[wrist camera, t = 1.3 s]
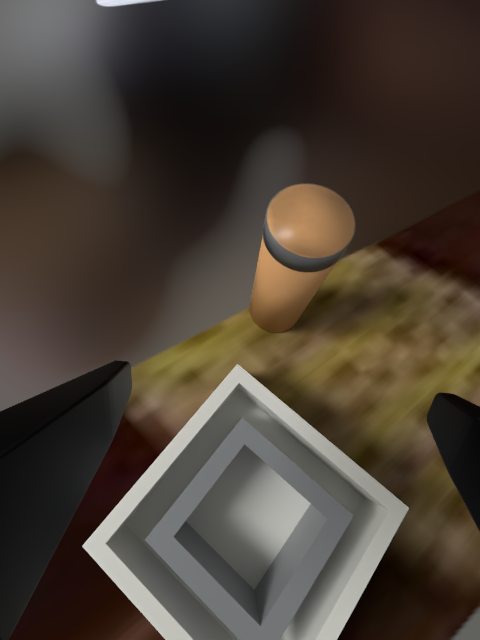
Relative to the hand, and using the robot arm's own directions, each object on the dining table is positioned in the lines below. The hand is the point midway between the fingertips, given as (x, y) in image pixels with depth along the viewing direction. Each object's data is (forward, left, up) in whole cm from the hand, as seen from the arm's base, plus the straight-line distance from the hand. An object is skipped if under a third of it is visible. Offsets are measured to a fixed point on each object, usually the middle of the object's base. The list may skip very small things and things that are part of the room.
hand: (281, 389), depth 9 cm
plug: (+3, -7, -13) cm, 16 cm away
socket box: (-4, +5, -13) cm, 15 cm away
